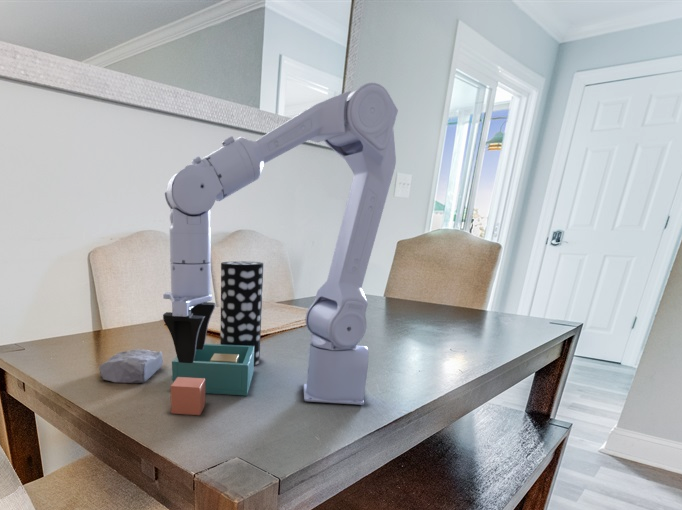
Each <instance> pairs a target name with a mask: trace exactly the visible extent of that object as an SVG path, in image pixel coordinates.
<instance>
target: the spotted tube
mask: <svg viewBox="0 0 682 510" xmlns="http://www.w3.org/2000/svg"><path fill="white" fill-rule="evenodd" d="M263 288H264V262H261V261H245V260H244V261H243V260H241V261H240V260H239V261H238V260H237V261H222V262H220V337H219V338H220V341H219V343H220V344H221V345H243V346H254V366H256V365H258V364H260V361H261V337H262V335H261V333H262V310H263V309H262V308H263Z"/></svg>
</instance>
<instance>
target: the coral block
mask: <svg viewBox="0 0 682 510" xmlns="http://www.w3.org/2000/svg"><path fill="white" fill-rule="evenodd" d="M205 406H206V393H205V378H188V377H177V378H176V380H175V381H174V382H173V383H171V385H170V407H171V408H170V409H171V414H176V415H190V416H201V414H202V412H203V411H204V408H205Z"/></svg>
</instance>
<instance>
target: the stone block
mask: <svg viewBox="0 0 682 510" xmlns="http://www.w3.org/2000/svg"><path fill="white" fill-rule="evenodd" d="M163 363H164V359H163V352H162V351H154V350H148V349H142V348H139V349H138V348H135V349H134V348H133V349H131V350H125V351H119V352H117V353H116V354H114V355H113V356H111V357H110V358H108V359H107V360H106V362H103V363H101V364H100V365H99V367H98V368H99V369H98V370H99V374H100V376H101V378H102V380H104V381H108V382H112V383H125V384H127V383H128V384H129V383H130V384H144V383H145V382H147V381H148V380H149V379H150V378H151V377H153V375H154V374H155V373H156V372H158V371H159V370H160V369H161V367H162V366H163Z"/></svg>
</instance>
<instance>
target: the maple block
mask: <svg viewBox="0 0 682 510" xmlns="http://www.w3.org/2000/svg"><path fill="white" fill-rule="evenodd" d="M210 362H225V363H239V355H237V354H216V353H214V355H213V356H212V358H211V360H210Z"/></svg>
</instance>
